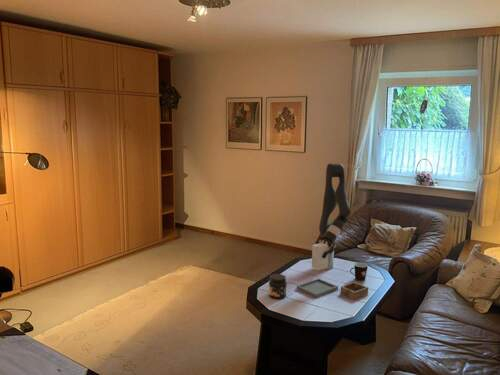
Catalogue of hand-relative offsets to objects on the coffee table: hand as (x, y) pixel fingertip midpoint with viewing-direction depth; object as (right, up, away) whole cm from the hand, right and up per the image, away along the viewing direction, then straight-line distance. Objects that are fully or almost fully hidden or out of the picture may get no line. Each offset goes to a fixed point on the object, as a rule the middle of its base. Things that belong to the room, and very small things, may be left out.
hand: (318, 256), depth 247 cm
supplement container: (-25, -23, -5) cm, 35 cm away
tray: (0, -21, +5) cm, 22 cm away
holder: (+21, -23, -1) cm, 31 cm away
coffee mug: (+30, -19, +22) cm, 42 cm away
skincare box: (+1, -8, +2) cm, 8 cm away
